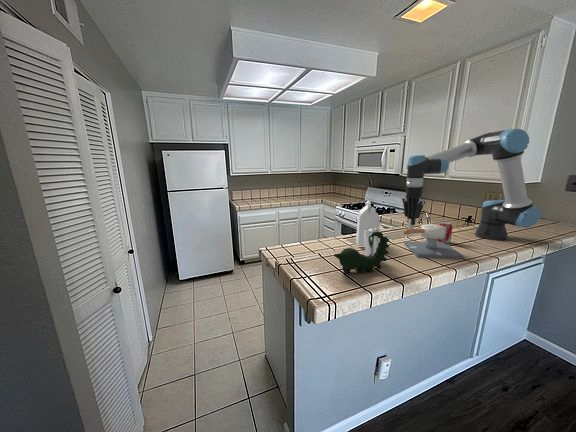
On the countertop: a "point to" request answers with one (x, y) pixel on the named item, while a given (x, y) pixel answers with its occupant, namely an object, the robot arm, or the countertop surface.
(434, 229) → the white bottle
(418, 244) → the post base
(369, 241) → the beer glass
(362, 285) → the countertop surface
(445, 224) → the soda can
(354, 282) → the countertop surface
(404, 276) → the countertop surface
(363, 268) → the toy figurine
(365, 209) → the milk
